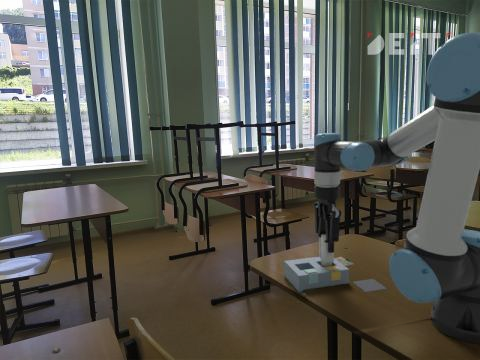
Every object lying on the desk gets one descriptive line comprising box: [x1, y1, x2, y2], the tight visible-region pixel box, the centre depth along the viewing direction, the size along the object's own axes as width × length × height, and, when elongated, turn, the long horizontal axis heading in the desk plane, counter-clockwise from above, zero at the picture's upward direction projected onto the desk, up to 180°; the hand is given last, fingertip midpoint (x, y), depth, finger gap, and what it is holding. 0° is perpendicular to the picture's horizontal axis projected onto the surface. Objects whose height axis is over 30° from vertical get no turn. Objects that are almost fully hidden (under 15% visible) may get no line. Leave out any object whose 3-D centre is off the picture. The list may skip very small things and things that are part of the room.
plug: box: [321, 234, 332, 267], centre depth 117 cm, size 3×3×12 cm
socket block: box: [283, 256, 350, 293], centre depth 117 cm, size 12×16×5 cm
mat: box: [352, 278, 388, 293], centre depth 112 cm, size 7×7×1 cm
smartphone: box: [334, 255, 356, 267], centre depth 129 cm, size 8×15×1 cm, turn 108°
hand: (326, 259), depth 117 cm, fingers closed on plug, 3 cm apart
